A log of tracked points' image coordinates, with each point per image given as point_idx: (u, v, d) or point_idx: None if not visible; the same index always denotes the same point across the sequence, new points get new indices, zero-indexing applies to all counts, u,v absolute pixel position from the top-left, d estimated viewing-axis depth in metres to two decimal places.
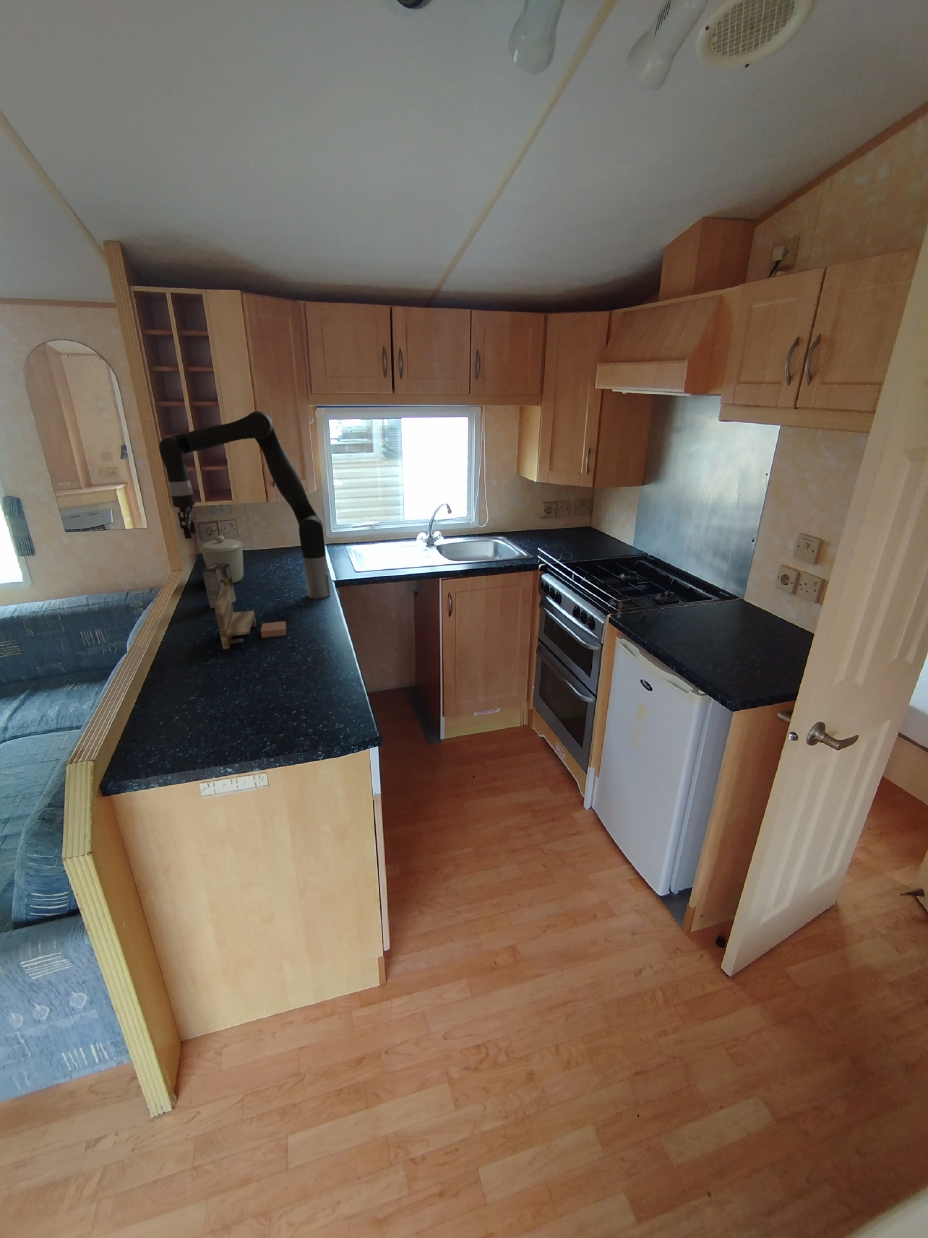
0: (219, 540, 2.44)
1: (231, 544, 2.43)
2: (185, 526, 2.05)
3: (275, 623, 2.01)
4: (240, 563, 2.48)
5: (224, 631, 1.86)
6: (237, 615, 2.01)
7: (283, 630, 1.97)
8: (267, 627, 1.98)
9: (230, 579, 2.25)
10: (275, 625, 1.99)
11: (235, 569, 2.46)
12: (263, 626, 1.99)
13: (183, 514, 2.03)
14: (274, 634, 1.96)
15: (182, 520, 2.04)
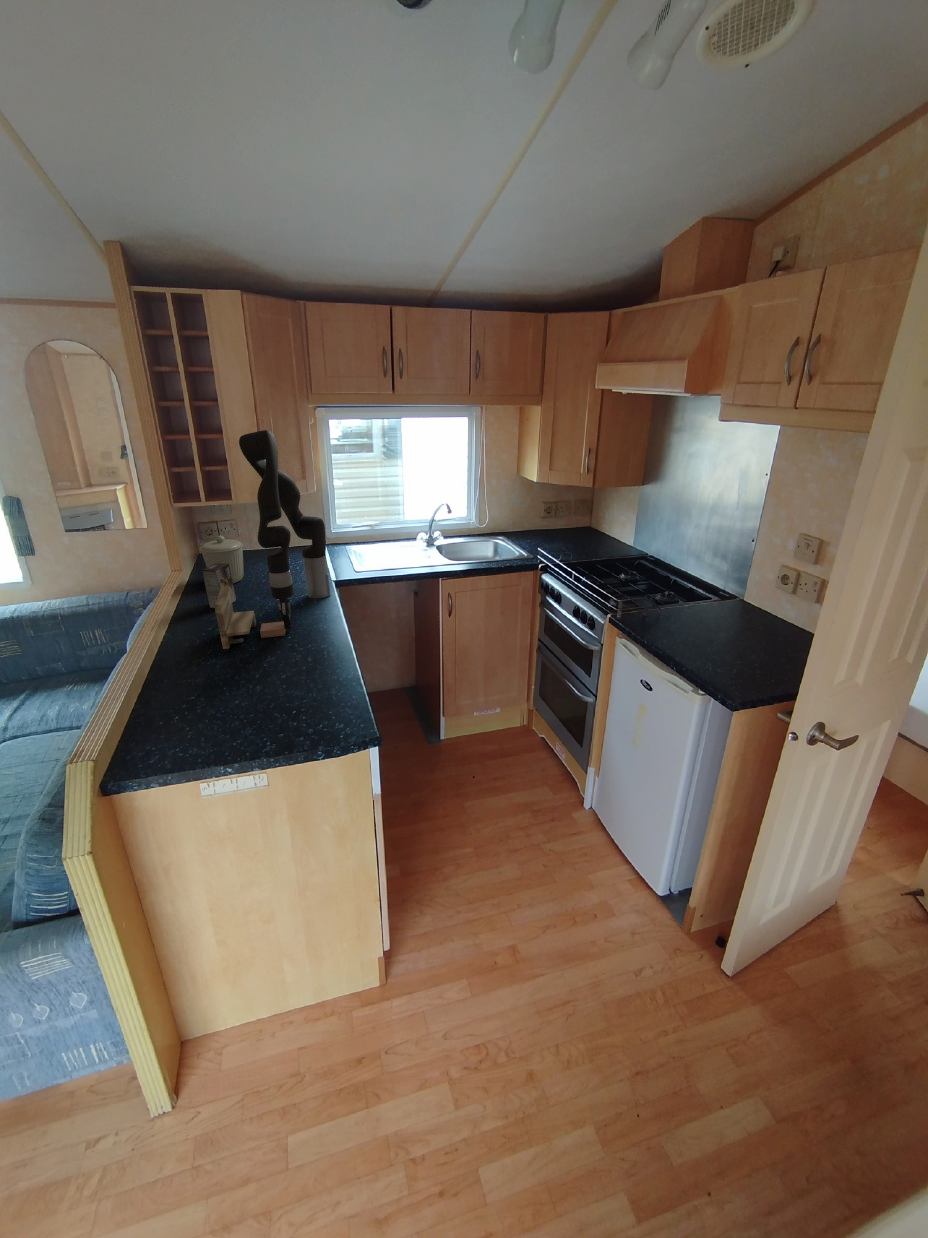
0: (219, 540, 2.44)
1: (231, 544, 2.43)
2: (287, 618, 1.96)
3: (275, 623, 2.01)
4: (240, 563, 2.48)
5: (224, 631, 1.86)
6: (237, 615, 2.01)
7: (283, 630, 1.97)
8: (266, 627, 1.98)
9: (230, 579, 2.25)
10: (275, 625, 1.99)
11: (235, 569, 2.46)
12: (263, 626, 1.99)
13: (286, 613, 1.92)
14: (274, 634, 1.96)
15: (284, 616, 1.94)
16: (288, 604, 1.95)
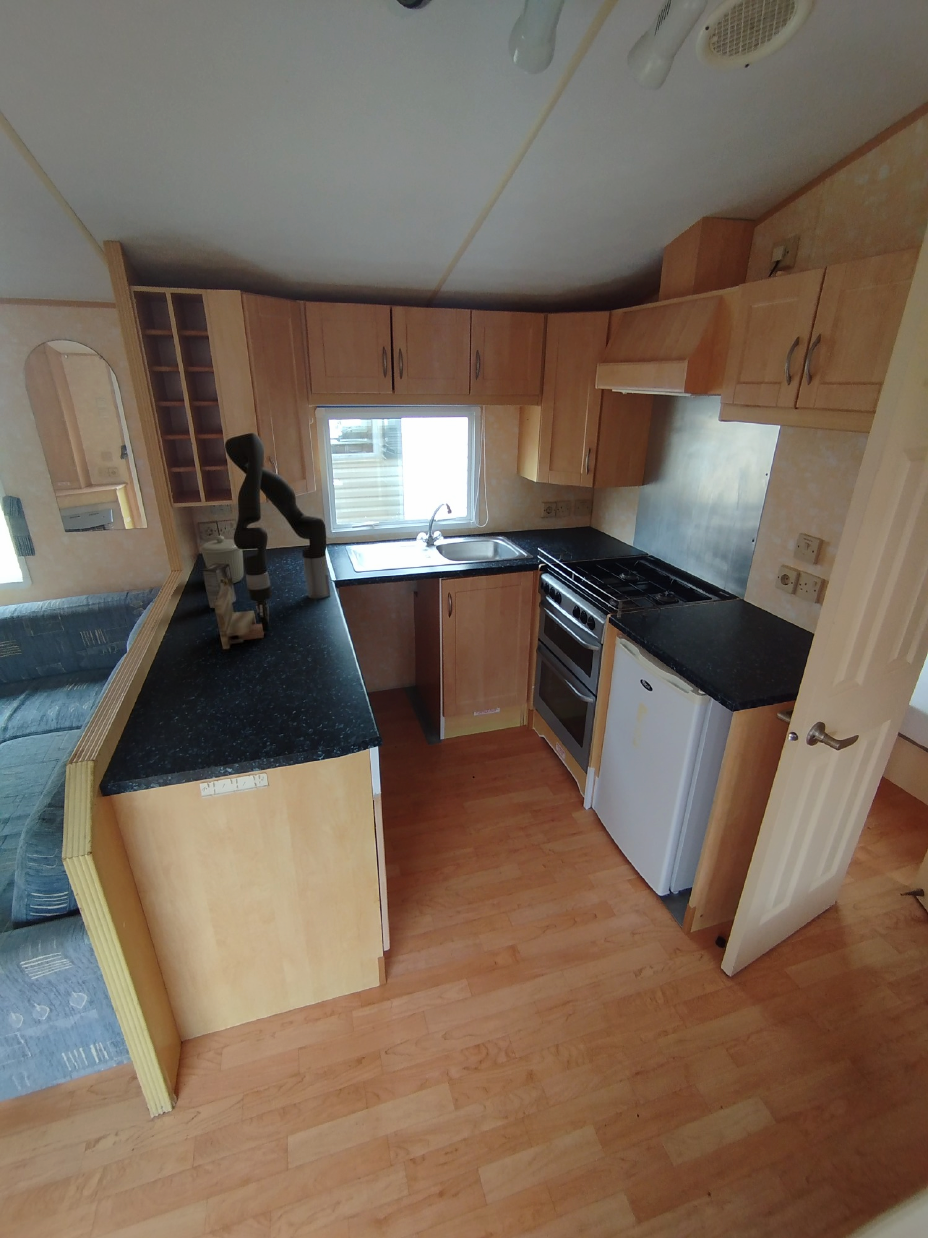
0: (219, 540, 2.44)
1: (231, 544, 2.43)
2: (265, 620, 1.94)
3: (253, 625, 1.99)
4: (240, 563, 2.48)
5: (224, 631, 1.86)
6: (237, 615, 2.01)
7: (261, 632, 1.95)
8: None
9: (230, 579, 2.25)
10: (253, 627, 1.98)
11: (235, 569, 2.46)
12: None
13: (263, 615, 1.90)
14: (252, 637, 1.95)
15: (261, 619, 1.92)
16: (266, 606, 1.93)
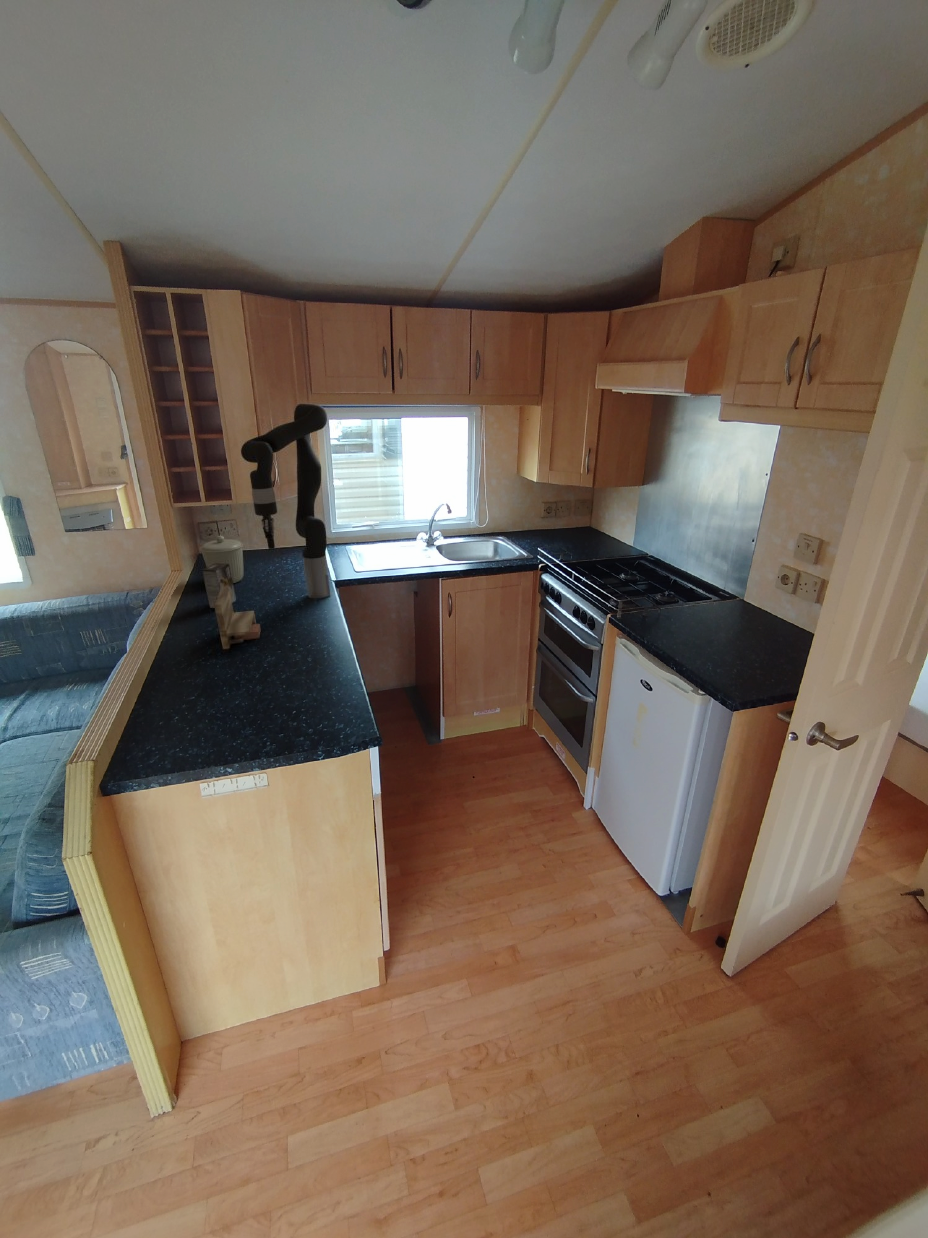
0: (219, 540, 2.44)
1: (231, 544, 2.43)
2: (270, 536, 1.98)
3: None
4: (240, 563, 2.48)
5: (224, 631, 1.86)
6: (237, 615, 2.01)
7: (257, 633, 1.95)
8: None
9: (230, 579, 2.25)
10: None
11: (235, 569, 2.46)
12: None
13: (268, 529, 1.95)
14: (247, 637, 1.95)
15: (267, 533, 1.96)
16: (271, 522, 1.98)
